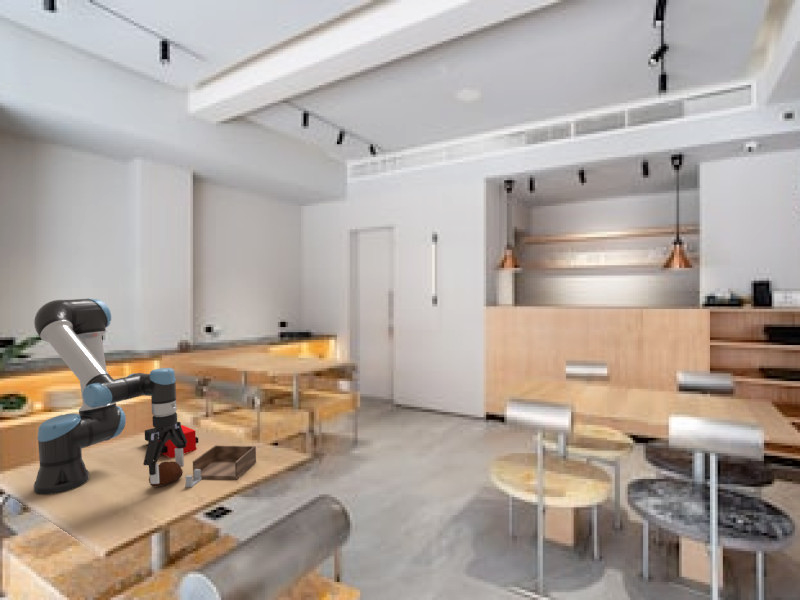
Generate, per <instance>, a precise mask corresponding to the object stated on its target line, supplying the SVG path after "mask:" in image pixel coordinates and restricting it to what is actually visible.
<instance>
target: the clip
mask: <svg viewBox="0 0 800 600" xmlns="http://www.w3.org/2000/svg"><path fill="white" fill-rule="evenodd" d="M200 481H202V478H201V469H195V470H194V478H193V474H192V475H190V474H189V475H185V486H184V487H185V488H193V487H195V485H197V484H198V483H200Z"/></svg>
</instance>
